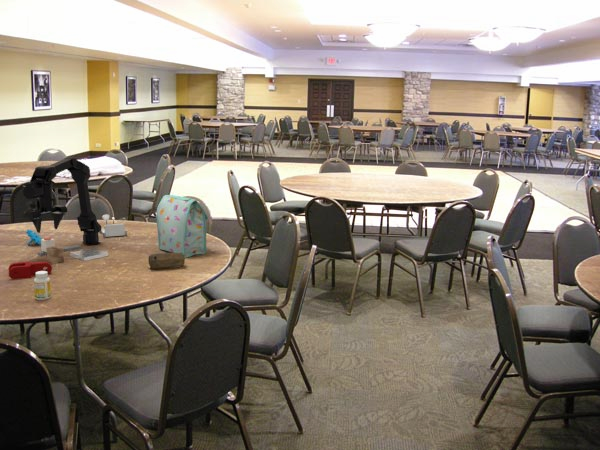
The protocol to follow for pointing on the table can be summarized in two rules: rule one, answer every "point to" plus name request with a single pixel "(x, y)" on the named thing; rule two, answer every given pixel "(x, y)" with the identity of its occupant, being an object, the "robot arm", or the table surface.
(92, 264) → the table surface
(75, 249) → the rail
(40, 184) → the robot arm
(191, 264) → the table surface
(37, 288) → the supplement bottle
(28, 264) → the mechanical linkage
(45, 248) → the white rectangular block
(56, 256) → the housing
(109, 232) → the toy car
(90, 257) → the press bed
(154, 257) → the stone weight
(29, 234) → the blue lobed piece
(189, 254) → the lunch bag
